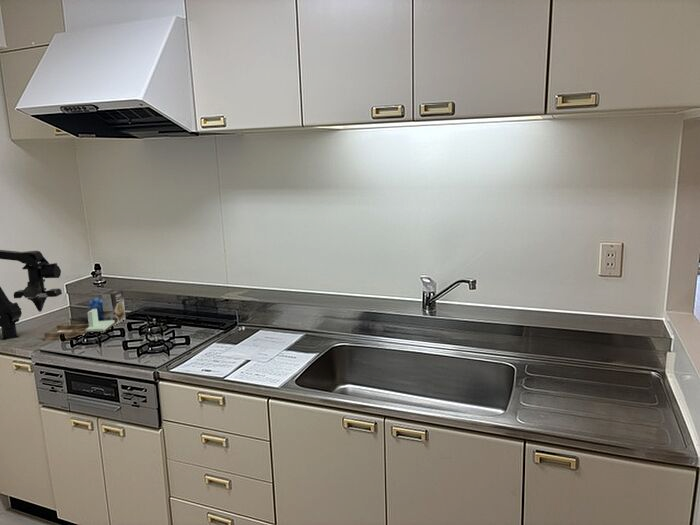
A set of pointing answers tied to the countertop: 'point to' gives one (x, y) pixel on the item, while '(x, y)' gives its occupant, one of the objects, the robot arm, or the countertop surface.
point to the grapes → (97, 307)
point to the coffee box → (113, 306)
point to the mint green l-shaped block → (97, 322)
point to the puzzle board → (70, 331)
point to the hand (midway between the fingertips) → (40, 311)
